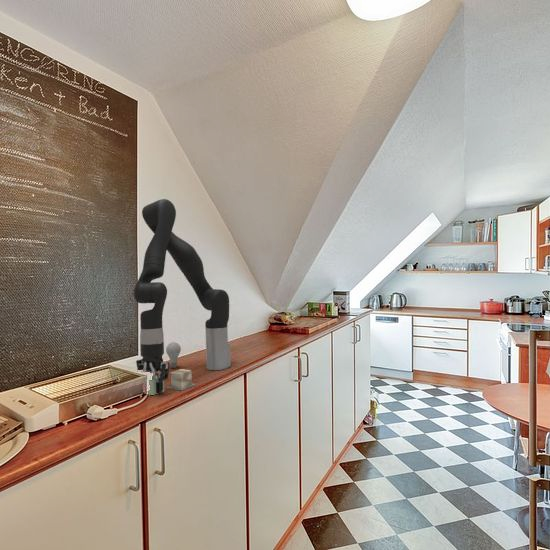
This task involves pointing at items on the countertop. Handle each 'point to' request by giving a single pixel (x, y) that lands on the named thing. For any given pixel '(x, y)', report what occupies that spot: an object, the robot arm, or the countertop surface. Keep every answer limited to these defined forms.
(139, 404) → the countertop surface
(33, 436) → the countertop surface
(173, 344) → the lightbulb
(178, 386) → the birch block
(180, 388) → the build tile
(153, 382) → the sage block
